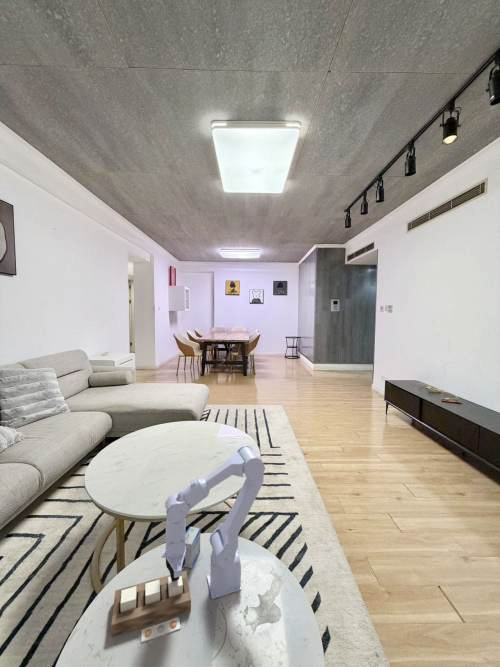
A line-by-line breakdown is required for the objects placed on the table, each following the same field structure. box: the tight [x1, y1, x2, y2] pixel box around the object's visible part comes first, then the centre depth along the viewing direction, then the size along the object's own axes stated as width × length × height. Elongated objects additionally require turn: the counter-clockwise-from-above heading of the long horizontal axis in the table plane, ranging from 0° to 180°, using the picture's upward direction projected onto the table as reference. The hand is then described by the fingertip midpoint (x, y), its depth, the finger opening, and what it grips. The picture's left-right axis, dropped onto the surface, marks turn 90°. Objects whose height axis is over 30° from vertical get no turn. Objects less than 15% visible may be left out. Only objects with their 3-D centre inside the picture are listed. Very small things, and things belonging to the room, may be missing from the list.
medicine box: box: [182, 526, 201, 569], centre depth 100 cm, size 8×4×9 cm, turn 168°
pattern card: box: [140, 616, 181, 643], centre depth 78 cm, size 10×3×1 cm, turn 110°
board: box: [110, 570, 192, 638], centre depth 84 cm, size 21×10×3 cm, turn 110°
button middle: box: [145, 580, 160, 606], centre depth 84 cm, size 4×4×3 cm
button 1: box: [121, 586, 136, 613], centre depth 81 cm, size 4×4×3 cm
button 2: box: [168, 576, 183, 598], centre depth 86 cm, size 4×4×3 cm
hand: (175, 578), depth 86 cm, fingers closed
